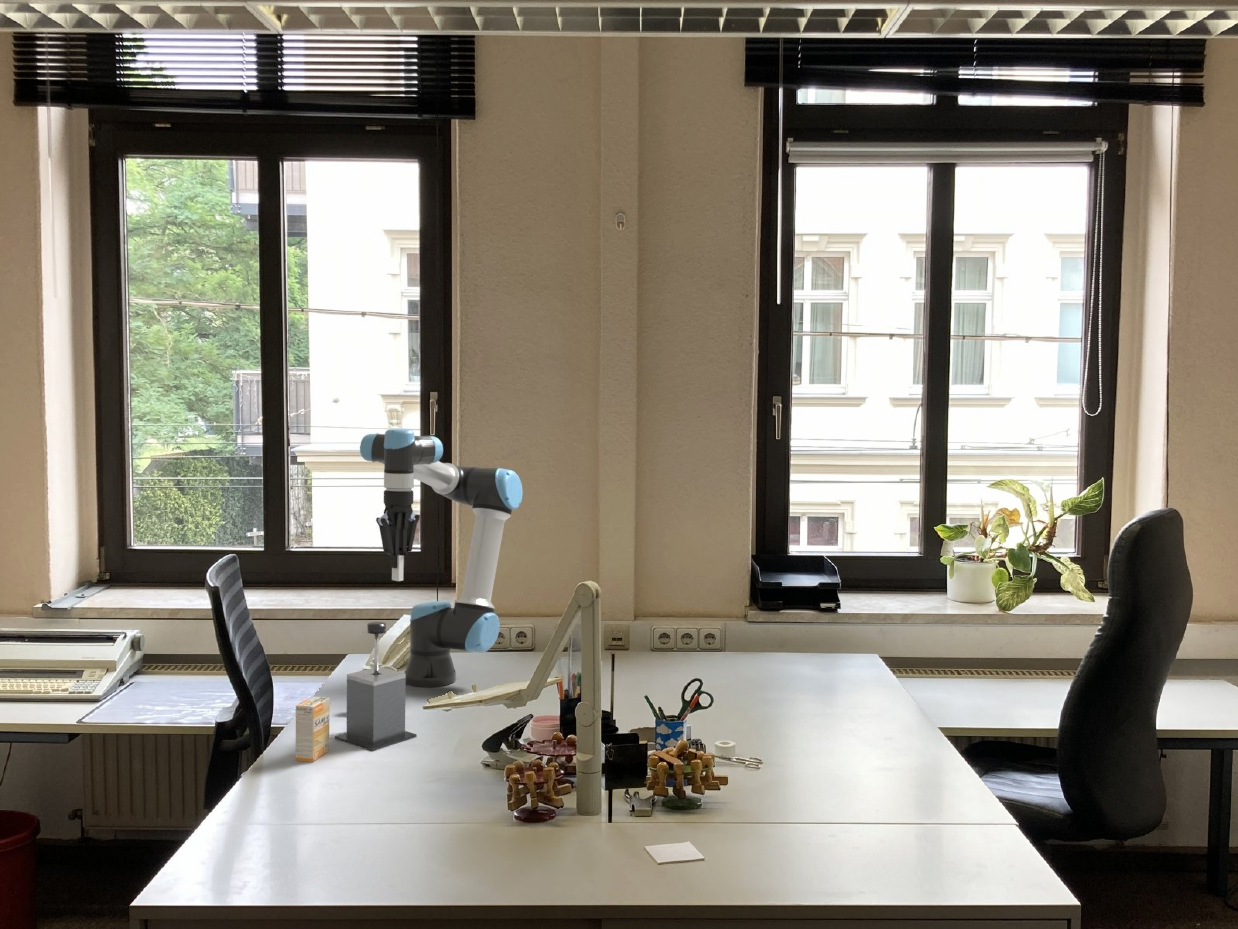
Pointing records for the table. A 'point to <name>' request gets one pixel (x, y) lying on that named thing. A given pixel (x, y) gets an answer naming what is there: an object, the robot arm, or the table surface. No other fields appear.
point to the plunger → (376, 639)
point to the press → (375, 709)
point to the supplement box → (312, 728)
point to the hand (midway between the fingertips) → (397, 580)
